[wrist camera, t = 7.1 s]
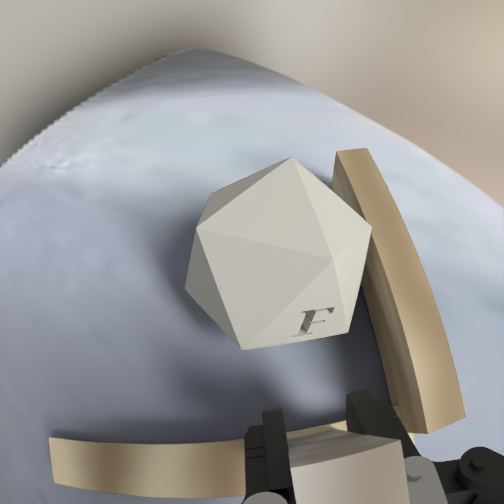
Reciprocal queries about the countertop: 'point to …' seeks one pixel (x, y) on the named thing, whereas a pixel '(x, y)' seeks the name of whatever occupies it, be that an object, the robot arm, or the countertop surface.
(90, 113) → the countertop surface
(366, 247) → the die
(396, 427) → the robot arm
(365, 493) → the l-shaped corner bracket
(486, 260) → the countertop surface
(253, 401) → the countertop surface
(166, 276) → the countertop surface
